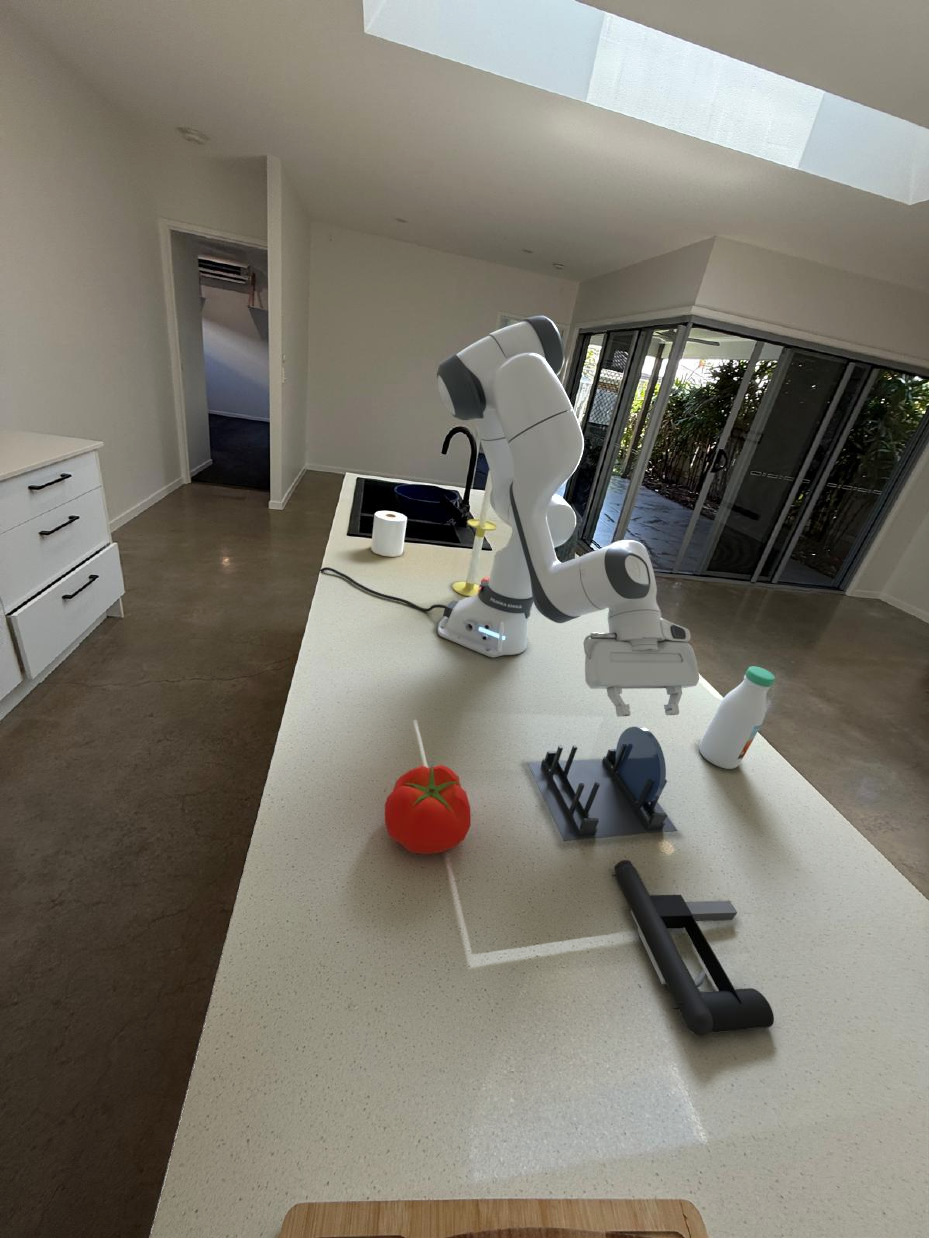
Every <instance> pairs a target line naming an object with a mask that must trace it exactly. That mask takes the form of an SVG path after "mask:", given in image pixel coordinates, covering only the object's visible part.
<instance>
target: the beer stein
mask: <svg viewBox="0 0 929 1238" xmlns="http://www.w3.org/2000/svg"><path fill="white" fill-rule="evenodd" d="M565 501H566V502H567V503H568V504H569V506H570V507H571V508H572V509H573V511H574V512H575V515H576V525H575V529H574V531H573V533H572V535H571V537H570V538H569V539H568V540H567V541H566V542H565V543H564V544H562V545H560V546H558V547H556V548H554V550H555V554H556V557H557V559H558V561H559V562H561V563H564V562H566V561H569V560H572V559H575V558H576V549H577V548H576V547H577V542H578V534H579V532H578V531H579V528H580V526H581V525H582V523H583V518H582V516H581V515H580V513H579V512H578V511H577V509H576V508H575V506H574V503H573V502H572V501H569V500H565Z"/></svg>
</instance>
